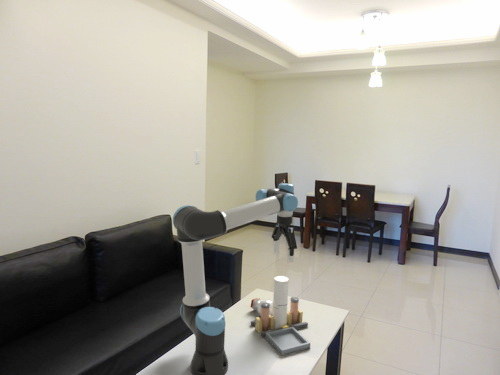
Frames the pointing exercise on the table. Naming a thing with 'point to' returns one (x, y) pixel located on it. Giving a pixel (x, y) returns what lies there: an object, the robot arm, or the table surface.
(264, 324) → the cylinder
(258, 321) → the fuse holder
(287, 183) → the robot arm
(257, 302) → the potion bottle
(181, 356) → the table surface
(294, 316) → the fuse
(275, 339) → the tray
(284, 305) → the cylindrical container
